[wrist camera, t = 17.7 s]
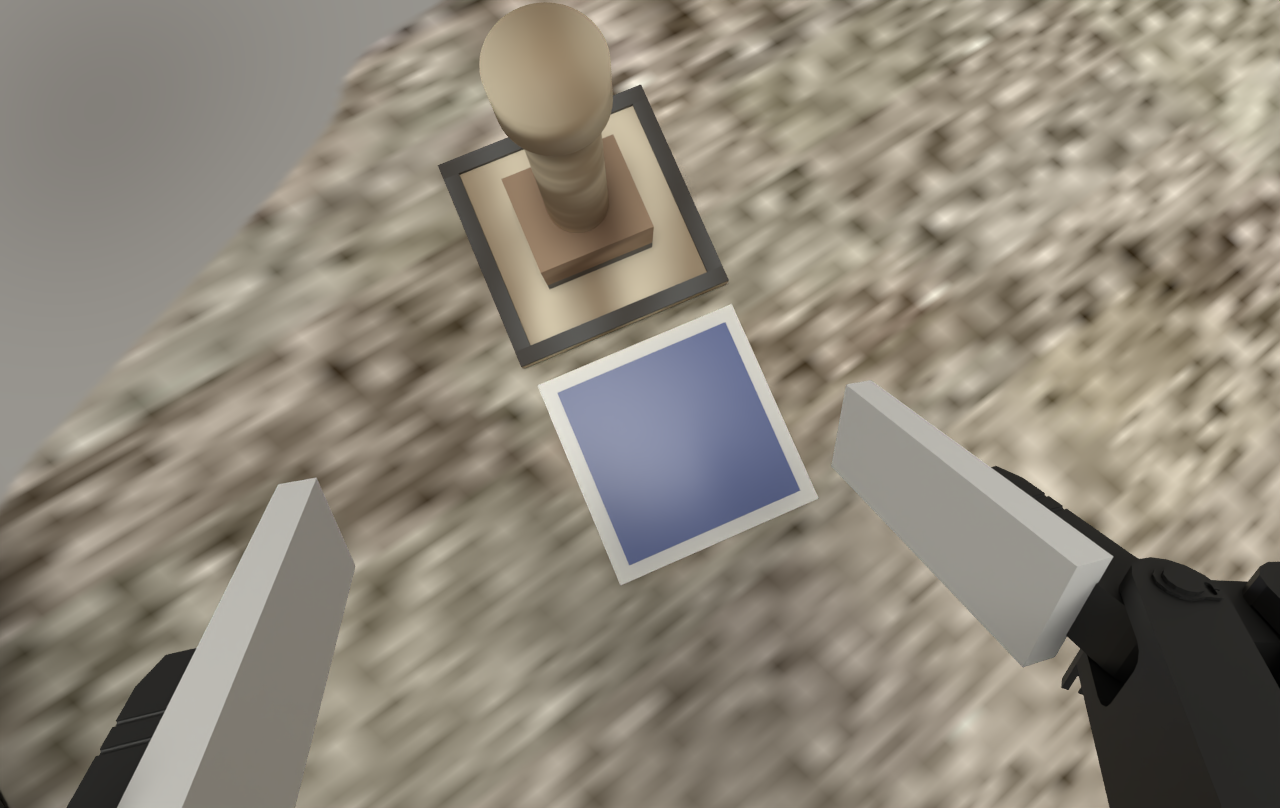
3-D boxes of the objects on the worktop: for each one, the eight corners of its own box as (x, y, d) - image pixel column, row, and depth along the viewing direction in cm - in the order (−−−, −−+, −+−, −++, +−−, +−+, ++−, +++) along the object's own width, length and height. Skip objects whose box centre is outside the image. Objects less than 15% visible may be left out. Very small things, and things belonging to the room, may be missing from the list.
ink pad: (621, 581, 33) (620, 588, 31) (540, 387, 34) (535, 384, 32) (813, 496, 33) (822, 499, 32) (728, 308, 34) (733, 300, 33)
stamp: (549, 289, 34) (486, 172, 19) (513, 204, 34) (425, 27, 20) (652, 247, 34) (665, 100, 20) (615, 163, 34) (601, -41, 20)
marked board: (523, 368, 34) (521, 366, 33) (442, 171, 35) (437, 165, 34) (726, 284, 34) (728, 280, 34) (640, 92, 35) (640, 84, 35)
